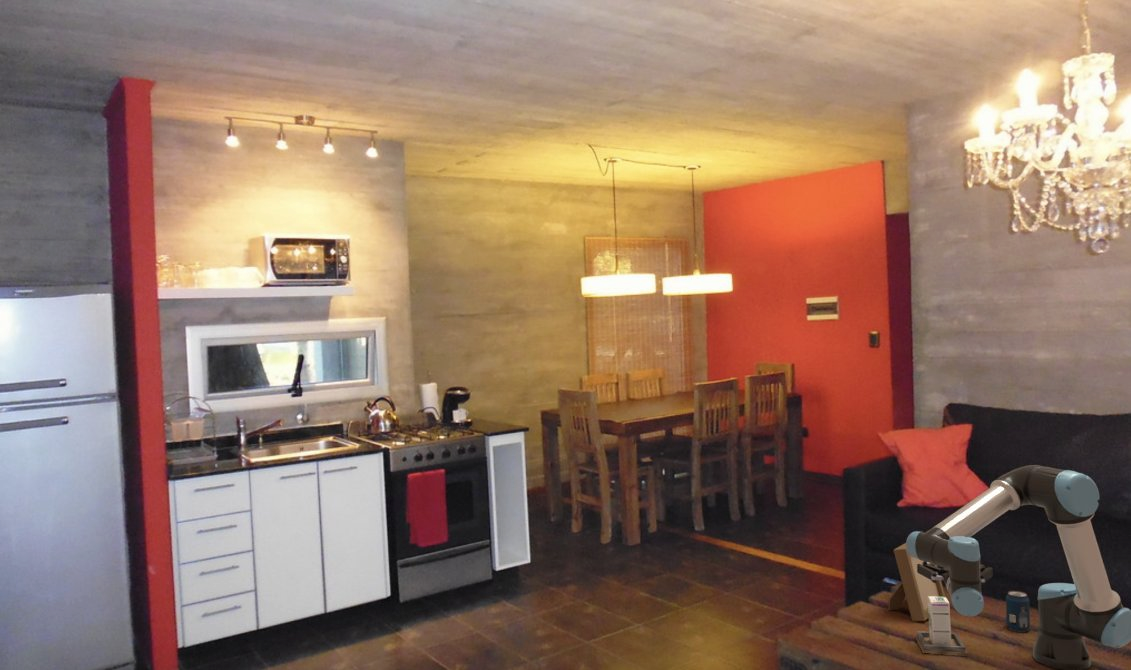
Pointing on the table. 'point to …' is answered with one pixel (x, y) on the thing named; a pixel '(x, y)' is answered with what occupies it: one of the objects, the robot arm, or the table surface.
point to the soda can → (1017, 611)
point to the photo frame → (913, 586)
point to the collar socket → (954, 649)
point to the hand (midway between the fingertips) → (950, 562)
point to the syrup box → (939, 620)
